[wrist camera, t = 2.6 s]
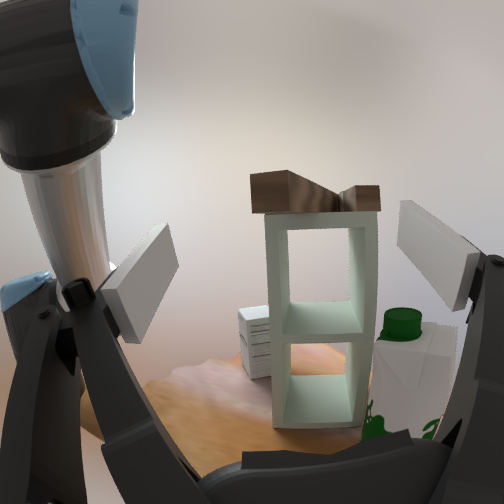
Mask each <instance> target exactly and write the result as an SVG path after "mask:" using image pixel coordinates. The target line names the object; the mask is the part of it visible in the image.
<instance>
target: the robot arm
mask: <svg viewBox="0 0 504 504" xmlns="http://www.w3.org/2000/svg"><path fill="white" fill-rule="evenodd" d="M137 13H138V0H7V1H5V2H1V3H0V154H1V157H2V160H3V162H4V164H5V165H6V166H7V167H8V168H10V169H12V170H14V171H16V172H20V173H21V176H22V180H23V184H24V188H25V192H26V195H27V199H28V202H29V205H30V209H31V212H32V215H33V218H34V221H35V224H36V227H37V229H38V232H39V235H40V238H41V240H42V243H43V246H44V248H45V251H46V253H47V256H48V258H49V260H50V263H51V265H52V268H53V270H54V272H55V274H56V277H57V278H56V279H52V274H51V273H50V271H44V272H38V273H34V274H31V275H27V276H24V277H21V278H18V279H15V280H13V281H10V282H8V283H6V284H4V285H3V286H2V288H1V290H0V299H1V307H2V313H3V316H4V320H5V324H6V328H7V332H8V336H9V339H10V343H11V346H12V349H13V352H14V355H15V359H16V362H17V366H16V370H15V373H14V377H13V381H12V385H11V389H10V394H9V398H8V402H7V407H6V413H5V418H4V424H3V431H2V438H1V448H0V504H87V494H86V487H85V480H84V472H83V463H82V451H81V434H80V396H81V395H82V393H83V392H84V389H85V383H86V387H87V390H88V393H89V397H90V400H91V403H92V406H93V409H94V412H95V415H96V418H97V421H98V423H99V426H100V429H101V431H102V434H103V437H104V439H105V444H102V445H101V451H102V454H103V457H104V459H105V462H106V464H107V466H108V469H109V471H110V473H111V475H112V477H113V480H114V482H115V484H116V486H117V488H118V490H119V492H120V494H121V496H122V498H123V499H124V502H125V503H126V504H504V258H503V257H501V256H498V255H488V256H486V255H485V254H484V253H482V252H481V251H480V250H479V249H478V248H476V247H475V246H474V245H473V244H472V243H471V242H469V241H468V240H467V239H465V238H464V237H463V236H461V235H459V234H457V233H456V232H455V231H454V230H452V229H451V228H450V227H448V226H447V225H446V224H444V223H443V222H442V221H440V220H439V219H438V218H436V217H435V216H433V215H432V214H431V213H429V212H428V211H426V210H425V209H423V208H422V207H421V206H419V205H417V204H416V203H415V202H413V201H411V200H406V201H400V212H399V228H398V240H397V246H398V247H399V248H400V249H401V250H402V251H403V252H404V253H405V255H406V256H407V257H408V258H409V259H410V260H411V261H412V263H413V264H414V265H415V266H416V267H417V268H418V270H419V271H420V272H421V273H422V274H423V276H424V277H425V278H426V279H427V281H428V282H429V283H430V284H431V285H432V287H433V288H434V289H435V290H436V292H437V293H438V294H439V296H440V297H441V298H442V299H443V301H444V302H445V303H446V304H447V306H448V307H449V309H450V310H451V311H452V312H454V311H458V310H462V309H465V306H466V304H467V300H468V297H469V298H470V299H471V300H472V301H473V303H472V306H471V310H470V312H469V315H468V318H467V321H466V323H468V328H467V334H466V339H465V343H464V348H463V353H462V357H461V361H460V365H459V369H458V372H457V376H456V380H455V383H454V386H453V390H452V393H451V396H450V399H449V402H448V405H447V408H446V411H445V414H444V416H443V419H442V422H441V424H440V427H439V429H438V432H437V434H436V436H435V437H434V439H433V440H429V439H423V438H411V436H410V433H409V429H404V430H401V431H397V432H394V433H390V434H386V435H382V436H377V437H373V438H370V439H368V440H366V441H363V442H361V443H359V444H357V445H354V446H352V447H350V448H347V449H345V450H342V451H340V452H337V453H335V454H331V455H321V454H311V453H302V452H294V451H287V450H280V451H254V452H242V461H240V462H236V463H232V464H229V465H226V466H223V467H221V468H219V469H216V470H215V471H213V472H211V473H209V474H207V475H206V476H204V477H203V478H201V477H200V476H199V474H198V473H197V472H196V471H195V470H194V468H193V467H192V466H191V465H190V463H189V462H188V461H187V459H186V458H185V457H184V455H183V454H182V452H181V451H180V449H179V448H178V447H177V445H176V444H175V442H174V441H173V439H172V438H171V436H170V435H169V433H168V432H167V430H166V428H165V427H164V425H163V424H162V422H161V421H160V419H159V417H158V416H157V414H156V412H155V411H154V409H153V407H152V406H151V404H150V402H149V400H148V399H147V397H146V395H145V393H144V392H143V390H142V388H141V386H140V384H139V383H138V381H137V379H136V377H135V375H134V373H133V371H132V369H131V367H130V365H129V363H128V361H127V359H126V357H125V355H124V353H123V351H122V349H121V347H120V344H119V343H118V341H117V338H118V336H119V335H122V337H123V339H124V341H125V343H136V344H141V342H142V339H143V338H144V335H145V333H146V331H147V329H148V327H149V325H150V322H151V321H152V319H153V317H154V315H155V312H156V310H157V308H158V306H159V304H160V302H161V300H162V298H163V296H164V294H165V292H166V290H167V288H168V286H169V284H170V282H171V280H172V279H173V277H174V275H175V273H176V271H177V269H178V267H179V265H178V261H177V257H176V253H175V249H174V246H173V242H172V238H171V234H170V230H169V225H168V223H165V224H158V225H155V226H154V227H153V228H152V229H151V231H150V232H149V233H148V234H147V235H146V236H145V237H144V238H143V239H142V241H141V242H140V243H139V244H138V245H137V246H136V247H135V249H134V250H133V251H132V252H131V253H130V254H129V255H128V257H127V258H126V259H125V260H124V261H123V262H122V264H121V265H120V266H119V267H117V268H116V267H115V266H114V265H113V264H112V263H111V262H110V260H109V253H108V246H107V238H106V230H105V221H104V210H103V197H102V179H101V150H102V149H104V148H105V147H106V146H107V145H108V144H109V143H110V142H111V140H112V139H113V138H114V136H115V134H116V130H117V120H122V119H124V118H125V117H129V116H131V115H132V114H133V113H134V110H135V102H134V69H135V39H136V25H137ZM81 368H82V372H83V376H84V379H83V376H82V374H81ZM84 380H85V383H84Z"/></svg>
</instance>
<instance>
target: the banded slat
mask: <svg viewBox="0 0 504 504" xmlns="http://www.w3.org/2000/svg"><path fill="white" fill-rule="evenodd" d="M337 204H338V212H361V211H377V212H378V211H381V204H380V189H379V185H377V186H376V185H366V186H364V185H363V186H359V185H356V186H353V187H351V188H349V189H347V190H346V191H342V192H340V194H338V195H337Z"/></svg>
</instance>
